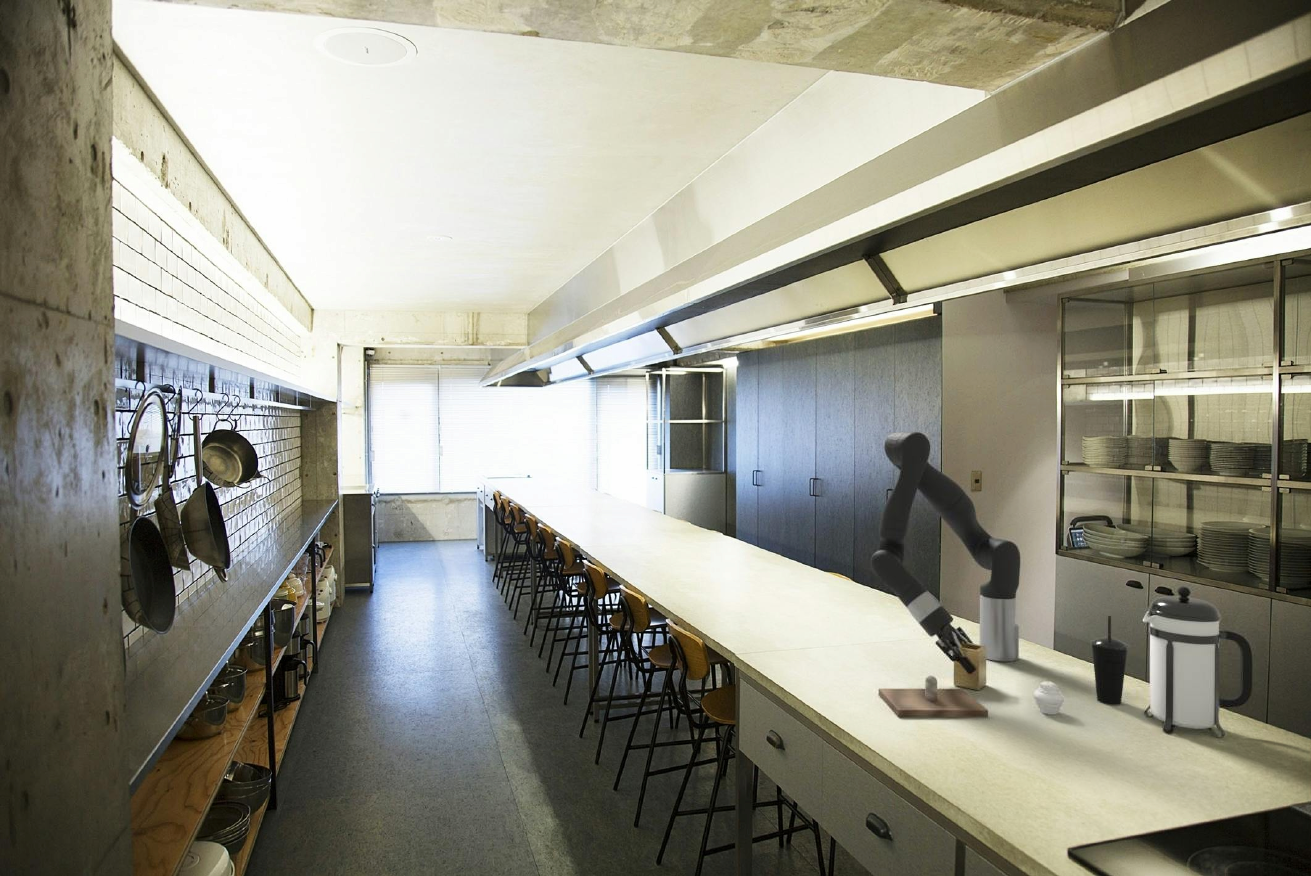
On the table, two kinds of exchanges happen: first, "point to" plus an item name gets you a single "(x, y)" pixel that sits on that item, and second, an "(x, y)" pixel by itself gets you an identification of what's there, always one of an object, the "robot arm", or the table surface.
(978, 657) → the wooden sleeve
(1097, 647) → the drinking cup
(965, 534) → the robot arm
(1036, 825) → the table surface
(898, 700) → the post board
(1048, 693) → the muffin
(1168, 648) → the coffee press
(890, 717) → the table surface
